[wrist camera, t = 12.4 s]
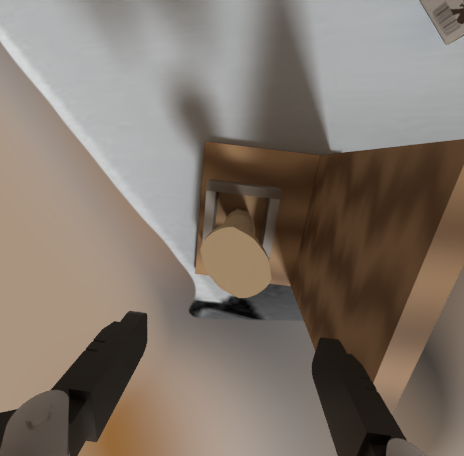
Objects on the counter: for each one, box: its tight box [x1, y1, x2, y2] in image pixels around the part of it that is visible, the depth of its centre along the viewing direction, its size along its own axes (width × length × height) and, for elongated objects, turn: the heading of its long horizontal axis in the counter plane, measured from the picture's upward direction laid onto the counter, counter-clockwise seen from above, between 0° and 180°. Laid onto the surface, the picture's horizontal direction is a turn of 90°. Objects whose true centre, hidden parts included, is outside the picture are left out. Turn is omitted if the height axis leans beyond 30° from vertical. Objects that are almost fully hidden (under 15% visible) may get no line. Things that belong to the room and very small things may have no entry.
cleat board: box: [195, 139, 464, 414], centre depth 22 cm, size 20×19×21 cm
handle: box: [200, 208, 271, 298], centre depth 24 cm, size 5×6×15 cm
